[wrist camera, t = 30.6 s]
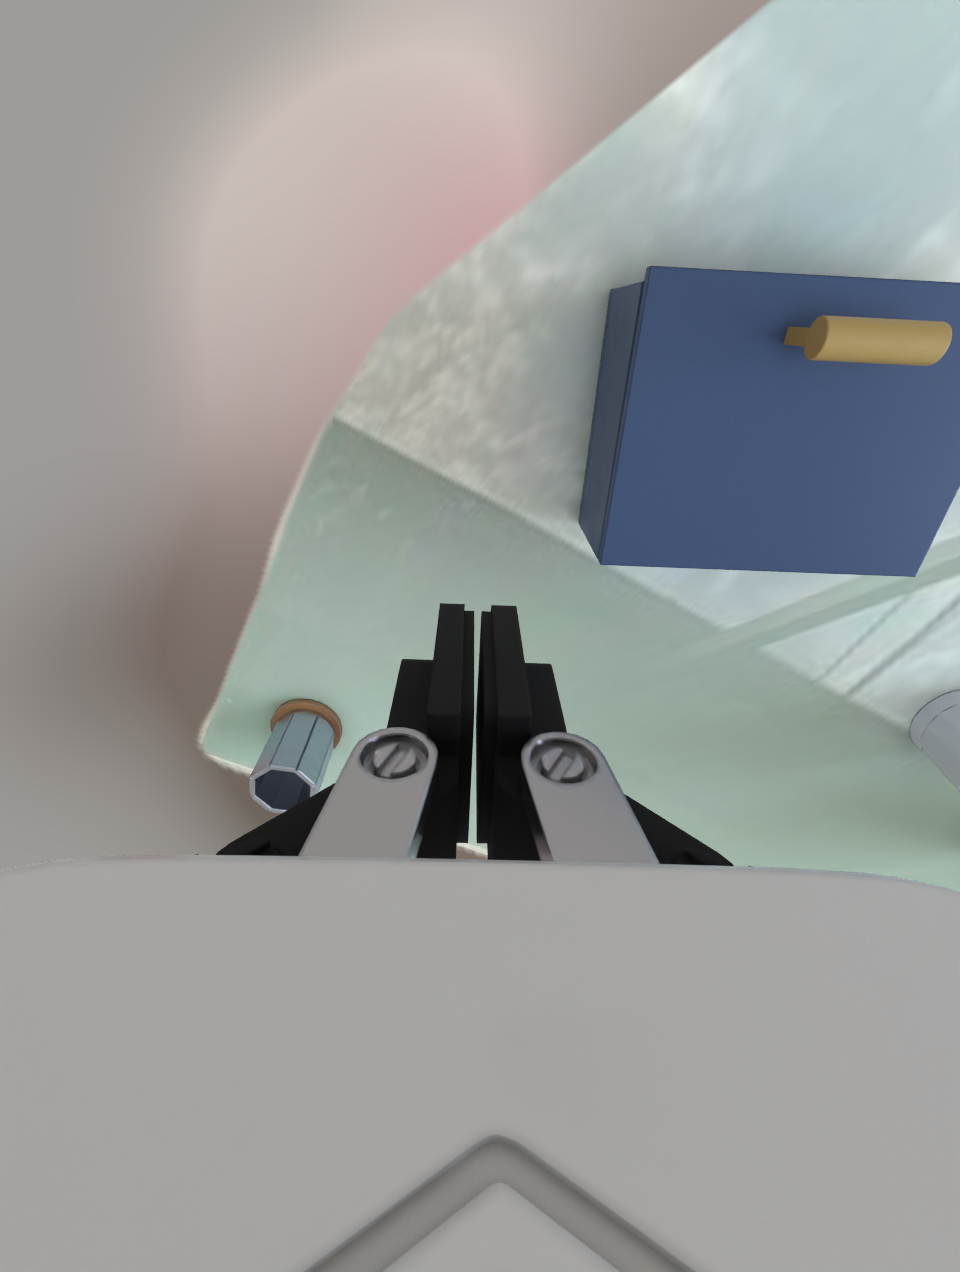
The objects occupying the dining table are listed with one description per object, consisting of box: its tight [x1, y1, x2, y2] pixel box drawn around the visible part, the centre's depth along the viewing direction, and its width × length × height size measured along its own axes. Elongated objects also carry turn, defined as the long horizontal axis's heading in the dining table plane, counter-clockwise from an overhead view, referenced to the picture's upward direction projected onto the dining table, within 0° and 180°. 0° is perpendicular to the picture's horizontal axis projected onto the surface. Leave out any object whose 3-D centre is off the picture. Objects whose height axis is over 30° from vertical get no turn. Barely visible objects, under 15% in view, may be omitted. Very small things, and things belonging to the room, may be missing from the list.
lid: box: [598, 266, 960, 577], centre depth 26 cm, size 14×18×4 cm
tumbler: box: [249, 709, 335, 813], centre depth 42 cm, size 5×5×6 cm
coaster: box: [271, 699, 342, 749], centre depth 45 cm, size 6×6×1 cm
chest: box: [579, 281, 644, 559], centre depth 31 cm, size 13×18×7 cm
